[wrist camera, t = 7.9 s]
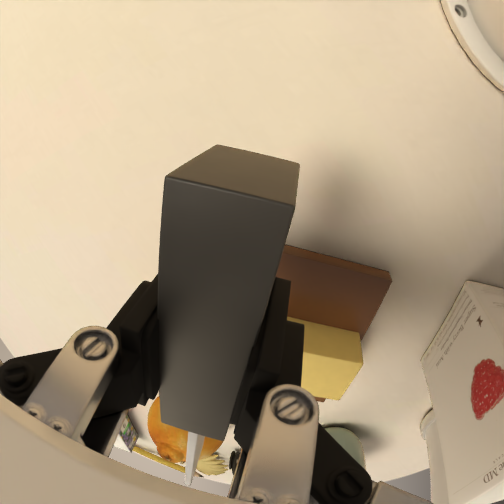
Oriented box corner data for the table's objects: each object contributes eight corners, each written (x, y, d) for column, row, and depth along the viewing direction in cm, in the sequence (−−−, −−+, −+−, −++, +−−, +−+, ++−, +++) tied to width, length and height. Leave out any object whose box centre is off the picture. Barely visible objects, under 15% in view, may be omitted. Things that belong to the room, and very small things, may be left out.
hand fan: (180, 473, 41) (184, 465, 43) (230, 487, 39) (233, 478, 40) (159, 442, 36) (164, 432, 37) (218, 459, 33) (223, 448, 35)
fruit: (129, 399, 30) (141, 468, 24) (167, 372, 27) (185, 454, 21) (188, 406, 35) (202, 465, 30) (231, 381, 32) (251, 448, 27)
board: (191, 220, 21) (185, 227, 20) (388, 271, 20) (392, 281, 19) (179, 357, 28) (175, 366, 27) (323, 392, 27) (323, 402, 26)
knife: (216, 143, 8) (163, 175, 5) (300, 163, 8) (295, 206, 5) (182, 439, 17) (166, 483, 14) (217, 449, 17) (205, 494, 14)
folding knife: (246, 473, 39) (242, 489, 37) (238, 472, 40) (234, 488, 37) (239, 448, 35) (234, 467, 32) (229, 447, 35) (224, 466, 32)
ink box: (97, 420, 40) (65, 361, 33) (140, 436, 39) (114, 379, 32) (88, 436, 37) (51, 380, 30) (131, 455, 36) (100, 402, 29)
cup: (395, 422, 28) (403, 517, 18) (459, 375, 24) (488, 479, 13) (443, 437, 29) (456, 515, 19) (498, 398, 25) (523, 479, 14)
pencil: (205, 473, 39) (205, 476, 39) (128, 441, 42) (128, 444, 42) (203, 477, 38) (202, 480, 38) (125, 444, 41) (125, 448, 41)
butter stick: (267, 311, 22) (260, 342, 19) (359, 332, 22) (363, 364, 19) (255, 352, 24) (248, 382, 21) (338, 370, 24) (339, 400, 21)
